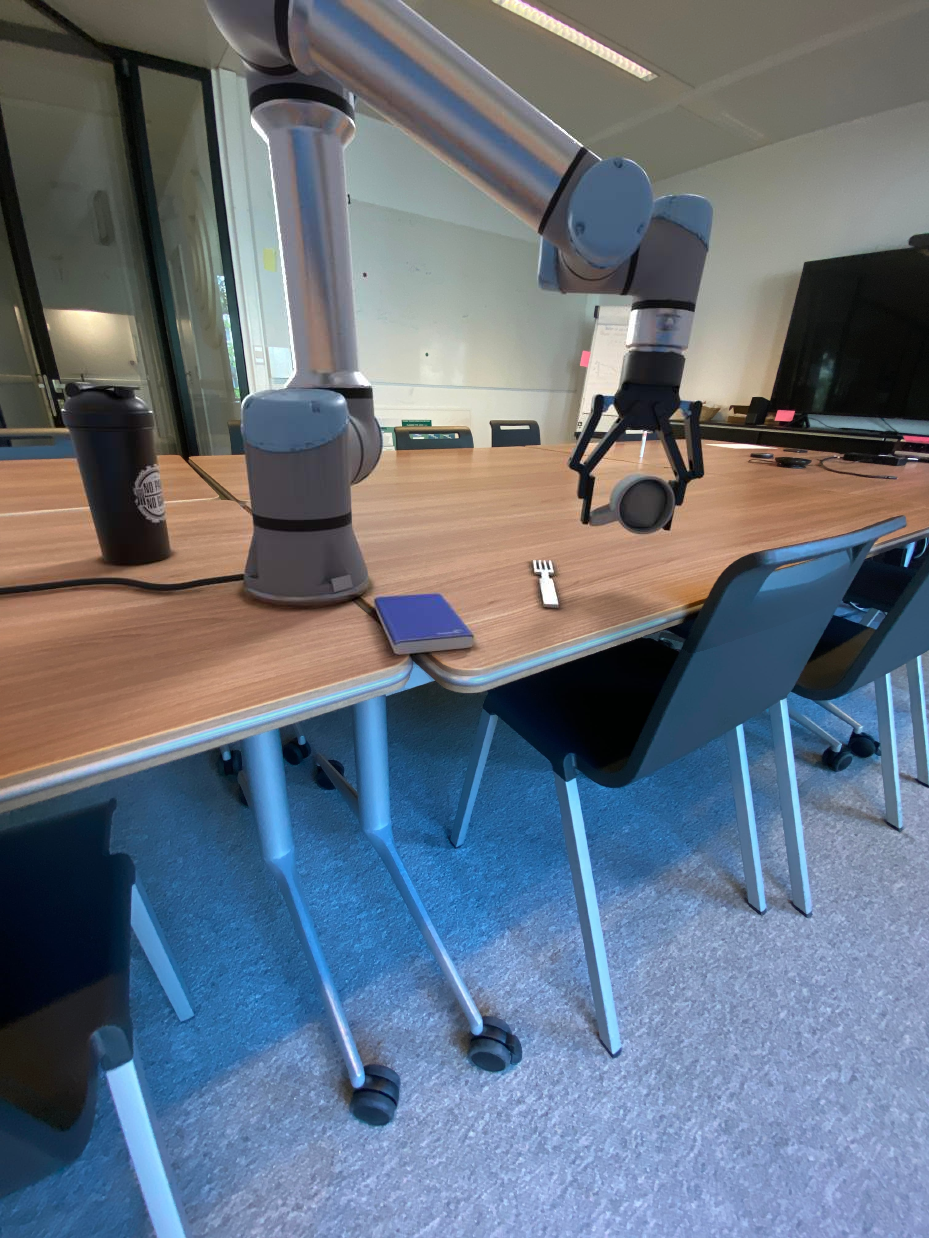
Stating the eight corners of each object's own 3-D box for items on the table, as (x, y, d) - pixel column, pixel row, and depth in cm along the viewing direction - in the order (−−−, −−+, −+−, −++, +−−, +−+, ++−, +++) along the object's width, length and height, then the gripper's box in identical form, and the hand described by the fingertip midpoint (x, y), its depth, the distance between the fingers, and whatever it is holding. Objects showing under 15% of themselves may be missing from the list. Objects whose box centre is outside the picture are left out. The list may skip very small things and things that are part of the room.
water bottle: (154, 568, 72) (118, 384, 63) (79, 565, 72) (32, 380, 63) (190, 548, 82) (163, 386, 73) (124, 545, 82) (89, 382, 73)
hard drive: (474, 633, 54) (441, 592, 64) (394, 640, 51) (373, 596, 62) (473, 647, 54) (441, 604, 65) (394, 655, 52) (374, 609, 63)
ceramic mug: (652, 523, 79) (662, 470, 76) (670, 536, 72) (680, 478, 69) (581, 520, 80) (588, 467, 77) (591, 533, 72) (598, 475, 69)
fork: (539, 607, 66) (540, 603, 65) (532, 562, 83) (532, 559, 83) (562, 608, 65) (562, 604, 65) (550, 563, 83) (550, 560, 83)
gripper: (566, 344, 64) (544, 525, 72) (762, 355, 63) (716, 538, 71) (560, 349, 71) (541, 514, 79) (736, 359, 70) (698, 525, 78)
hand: (624, 525), depth 75 cm, fingers closed on ceramic mug, 11 cm apart
